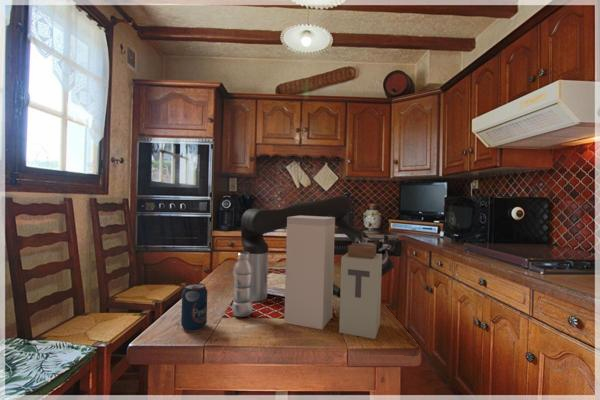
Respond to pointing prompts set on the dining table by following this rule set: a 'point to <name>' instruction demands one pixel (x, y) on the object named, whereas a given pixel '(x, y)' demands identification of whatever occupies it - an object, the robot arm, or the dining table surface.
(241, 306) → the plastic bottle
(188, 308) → the soda can
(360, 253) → the walnut paddle
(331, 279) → the cream stand
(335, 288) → the door handle
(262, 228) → the robot arm
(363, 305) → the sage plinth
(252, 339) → the dining table surface
